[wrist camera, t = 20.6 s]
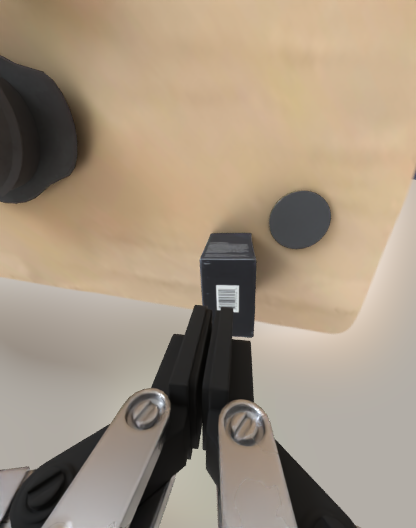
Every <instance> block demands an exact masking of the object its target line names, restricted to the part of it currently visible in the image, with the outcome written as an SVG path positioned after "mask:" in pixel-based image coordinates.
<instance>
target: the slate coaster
mask: <svg viewBox="0 0 416 528" xmlns="http://www.w3.org/2000/svg"><path fill="white" fill-rule="evenodd" d="M330 221H331V212H330V208H329V206H328V203H327V202H326V201H325V199H324V198H323V197H321V196H320V195H318V194H317V193H314V192H311V191H306V190H299V191H294V192H291V193H289V194H287V195H285V196H283V197H282V198H281V199H280V200H279V201H278V202H277V203H276V204H275V205H274V207H273V209H272V211H271V213H270V217H269V228H270V231H271V234H272V236H273V238H274V239H275V240H276V241H277V242H278V243H279V244H281V245H282V246H284V247H287V248H291V249H302V248H306V247H309V246H311V245H313V244H315V243H317V242H318V241H319V240H320V239H321V238H322V237H323V236H324V235H325V233H326V232H327V230H328V228H329V225H330Z"/></svg>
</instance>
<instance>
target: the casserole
mask: <svg viewBox="0 0 416 528" xmlns="http://www.w3.org/2000/svg"><path fill="white" fill-rule="evenodd" d="M76 160H77V136H76V130H75V125H74V121H73V118H72V115H71V112H70V109H69V107H68V105H67V102H66V100H65V98H64V96H63V94H62V92H61V91H60V89H59V88H58V86H57V85H56V83H55V82H54V81H53V80H52V79H51V78H50V77H49V76H48V75H46V74H45V73H44V72H42V71H39V70H36V69H32V68H29V67H26V66H22V65H19V64H16V63H14V62H12V61H10V60H8V59H6V58H5V57H3V56H1V55H0V201H1V202H4V203H15V204H17V203H23V202H27V201H30V200H32V199H34V198H36V197H37V196H38V195H40V194H41V193H42V192H43V191H44V190H45V189H47V188H48V187H49V186H50V185H51V184H53V183H55V182H57V181H59V180H61V179H63V178H65V177H67V176H69V175H70V174H71V173H72V171H73V170H74V168H75V165H76Z"/></svg>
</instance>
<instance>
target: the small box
mask: <svg viewBox="0 0 416 528" xmlns="http://www.w3.org/2000/svg"><path fill="white" fill-rule="evenodd" d="M256 262H257V260H256V257H255V253H254V249H253V244H252V234H251V233H212V234H210V237H209V239H208V242H207V244H206V246H205V249H204V251H203V253H202V255H201V258H200V274H201V289H202V304H203V306H208V309H210V310H212V328H213V323H214V317H215V312H216V310H221V307H228V308H233V328H232V336H235V337H247V338H248V337H249V338H252V337H253V336H254V334H253V333H254V319H255V318H254V317H255V315H254V314H255V289H256Z"/></svg>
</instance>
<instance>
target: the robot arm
mask: <svg viewBox="0 0 416 528" xmlns="http://www.w3.org/2000/svg"><path fill="white" fill-rule="evenodd" d="M232 328H233V308H228V307H221V310H216V312H215V317H214V323H213V328H212V310H210V309H208V306H202V305H195V306H194V309H193V312H192V315H191V318H190V321H189V324H188V327H187V330H186V333H185V335H181V334H174V335H173V336H172V338H171V341H170V343H169V345H168V348H167V350H166V353H165V355H164V358H163V360H162V362H161V365H160V367H159V370H158V372H157V375H156V377H155V380H154V382H153V384H152V387H151V388H148V389H143V390H141V391H138V392H136V393H135V394H133V395H132V396H130V397H129V398H128V400H127V401H126V402H125V403H124V405H123V406H122V407H121V409H120V410H119V412H118V413H117V415H116V416H115V418H114V420H113V421H112V422H111V424H109V425H107V426H106V427H104V428H103V429H101V430H99V431H97V432H96V433H94V434H92V435H91V436H89V437H87V438H86V439H84V440H82V441H81V442H79V443H78V444H76V445H74V446H72V447H71V448H69V449H67V450H66V451H64V452H63V453H61V454H59V455H58V456H56V457H54V458H53V459H51V460H49V461H48V462H46V463H45V464H43V465H42V466H40V467H39V468H38V469H35V470H30V468H29V467H21V468H12V469H4V470H0V528H159V525H160V523H161V520H162V517H163V514H164V511H165V508H166V505H167V502H168V499H169V496H170V493H171V490H172V487H173V484H174V481H175V476H176V473H177V472H179V471H180V470H181V469H182V468H183V467H184V466H186V461H187V459H191V454H192V449H193V448H194V449H198V447H199V441H200V435H201V428H202V430H203V450H206V469H207V471H208V473H209V474H210V476H211V477H212V479H213V480H214V482H215V484H216V490H217V516H218V528H360V527H358V526H356V525H354V523H353V522H352V521H351V519H350V518H349V517H348V516H347V515H346V514H345V513H344V512H343V511H342V510H341V508H340V507H338V505H337V504H336V503H335V502H334V501H333V500H332V499H331V498H330V497H329V496H328V495H327V494H326V493H325V491H324V490H323V489H322V488H321V487H320V486H319V485H318V484H317V483H316V482H315V481H314V480H313V479H312V478H311V477H310V476H309V475H308V473H307V472H306V471H305V470H304V469H303V468H302V467H301V466H300V465H299V464H298V463H297V462H296V461H295V460H294V459H293V458H292V457H291V456H290V454H289V453H288V452H287V451H286V450H285V449H284V448H283V447H282V446H281V445H280V444H279V443H278V442H277V441H276V440H275V439H274V435H273V431H272V427H271V423H270V421H269V419H268V416H267V414H266V413H265V412H264V410H263V409H262V408H261V407H259V406H258V405H257V404H255V403H254V396H253V377H252V357H251V342H250V341H245V340H234V339H232ZM202 426H203V427H202Z"/></svg>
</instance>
